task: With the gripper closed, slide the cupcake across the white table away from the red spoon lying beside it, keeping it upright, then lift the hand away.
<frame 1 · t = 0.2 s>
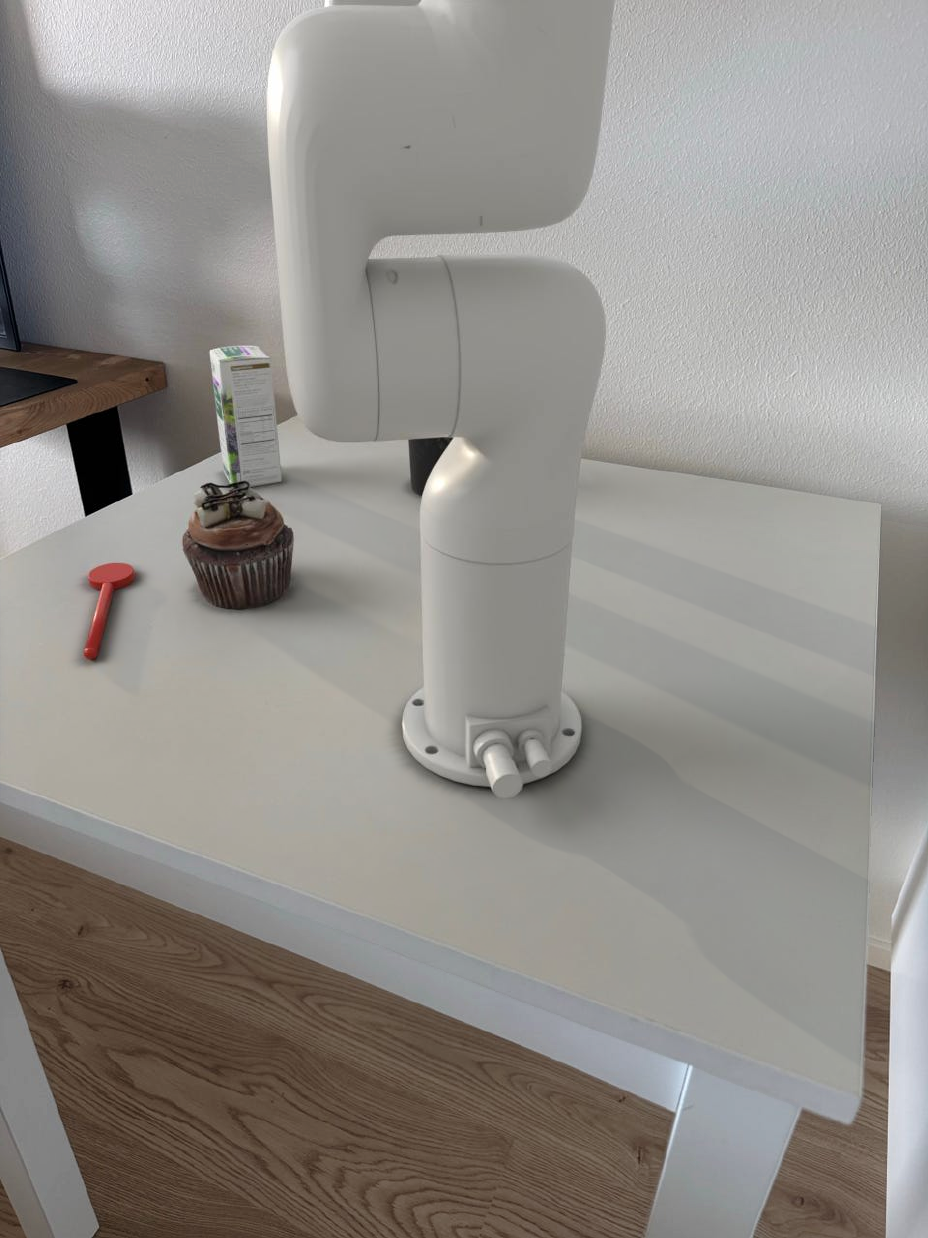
hand: (385, 186, 86), 31 cm above the table, tool pointing down, fingers open, 9 cm apart
spoon: (105, 606, 79), on the table
travel mug: (442, 488, 103), on the table
cupcake: (245, 589, 82), on the table
syrup box: (253, 479, 105), on the table
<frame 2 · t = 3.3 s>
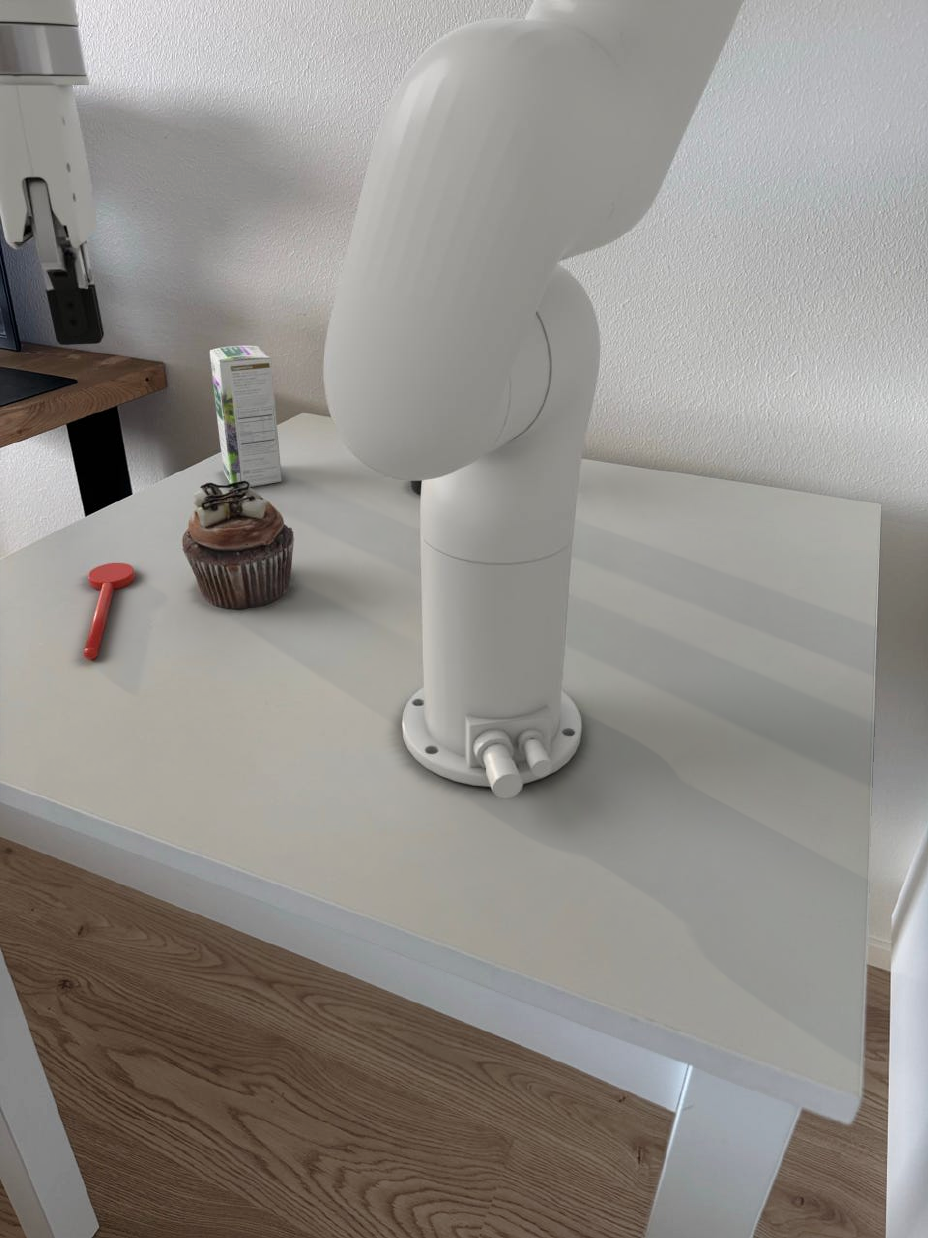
hand: (81, 340, 69), 22 cm above the table, tool pointing down, fingers closed
nothing on the table moved.
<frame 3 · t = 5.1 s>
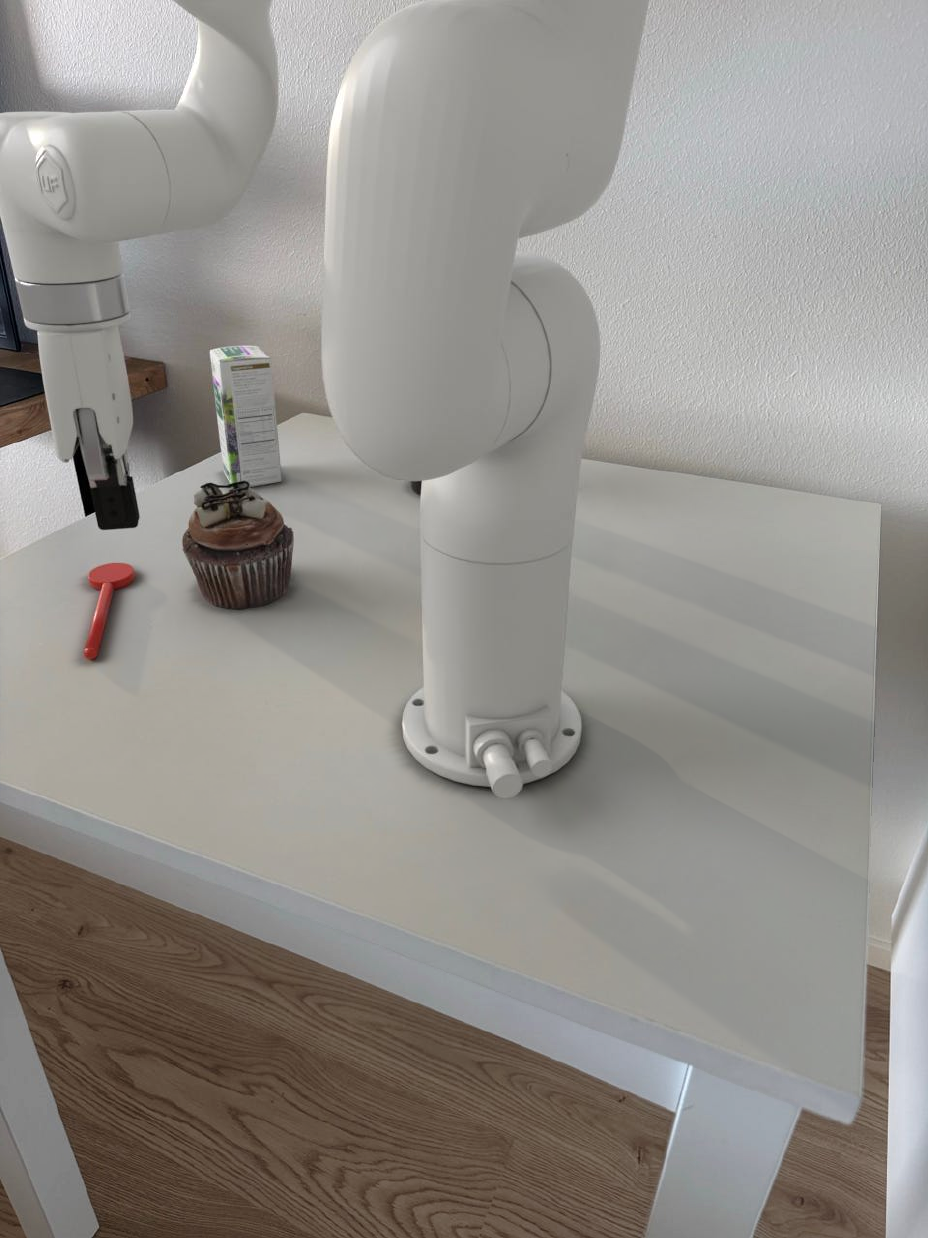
hand: (119, 524, 77), 7 cm above the table, tool pointing down, fingers closed
nothing on the table moved.
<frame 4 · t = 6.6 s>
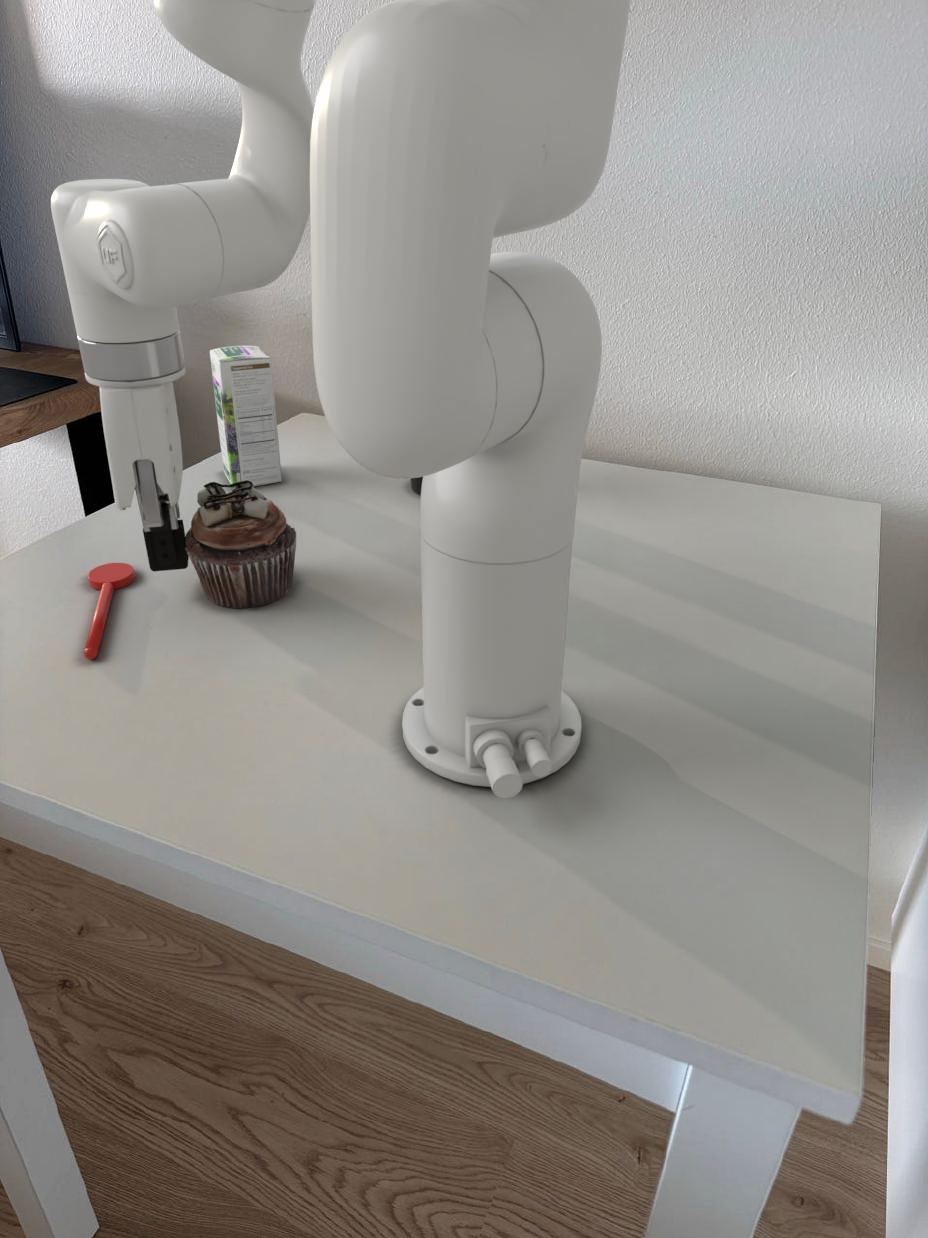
hand: (170, 565, 80), 3 cm above the table, tool pointing down, fingers closed
cupcake: (248, 589, 82), on the table, touching gripper
everything else where it was.
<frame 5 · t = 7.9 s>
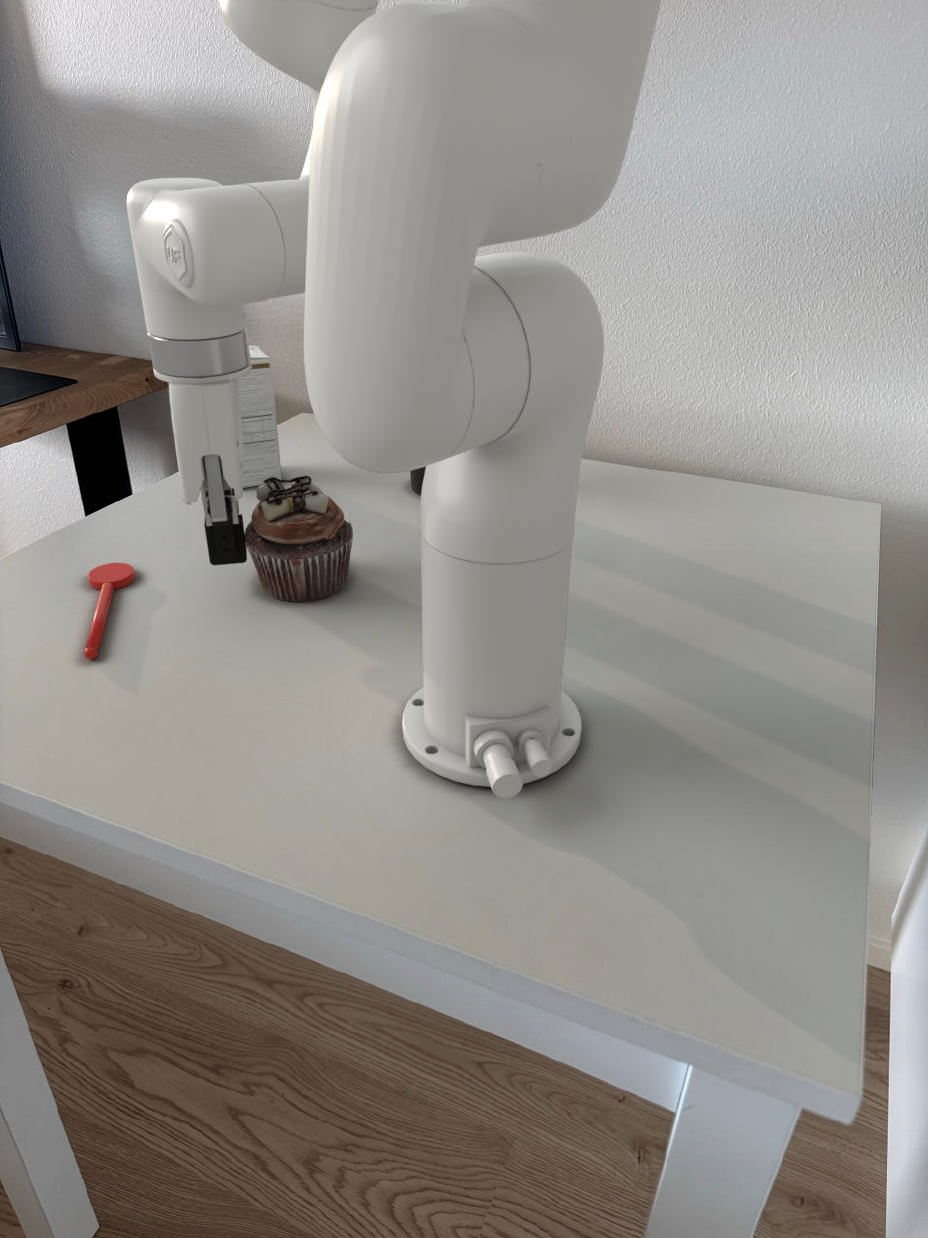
hand: (228, 559, 81), 3 cm above the table, tool pointing down, fingers closed
cupcake: (304, 583, 83), on the table, touching gripper
everything else where it was.
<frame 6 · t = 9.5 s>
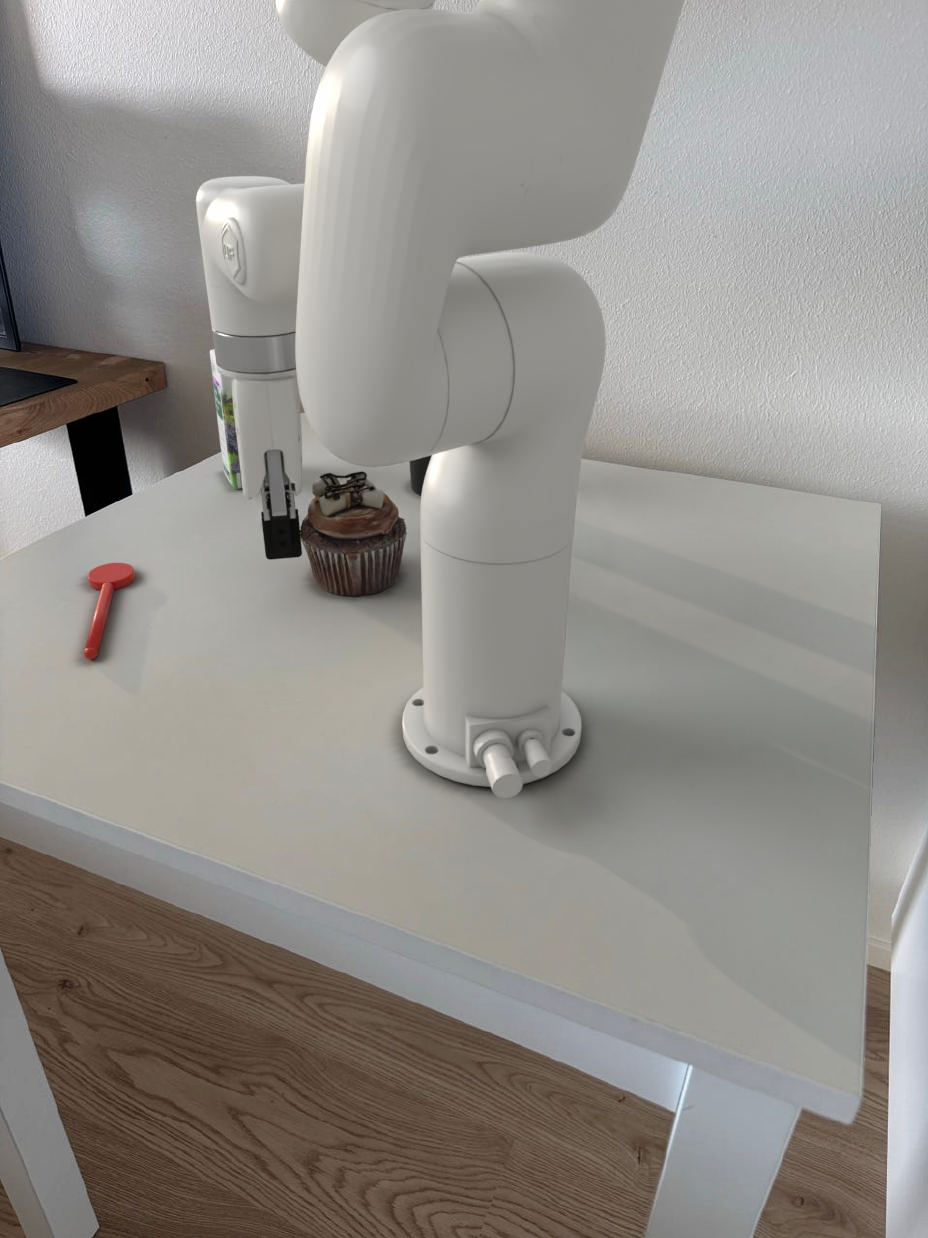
hand: (283, 553, 82), 3 cm above the table, tool pointing down, fingers closed
cupcake: (356, 578, 84), on the table, touching gripper
everything else where it was.
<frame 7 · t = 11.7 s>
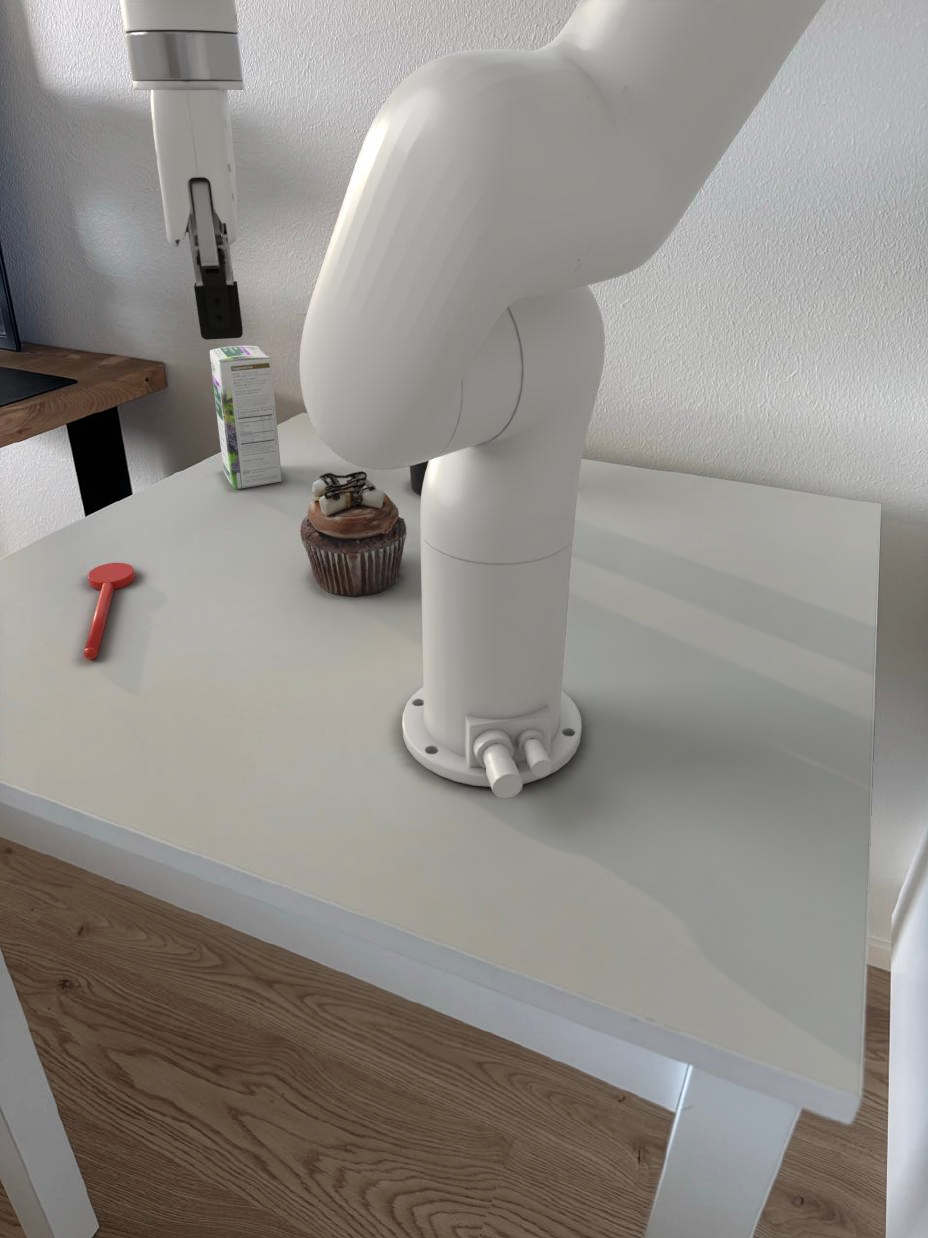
hand: (222, 335, 72), 22 cm above the table, tool pointing down, fingers closed
cupcake: (357, 578, 84), on the table
everything else where it was.
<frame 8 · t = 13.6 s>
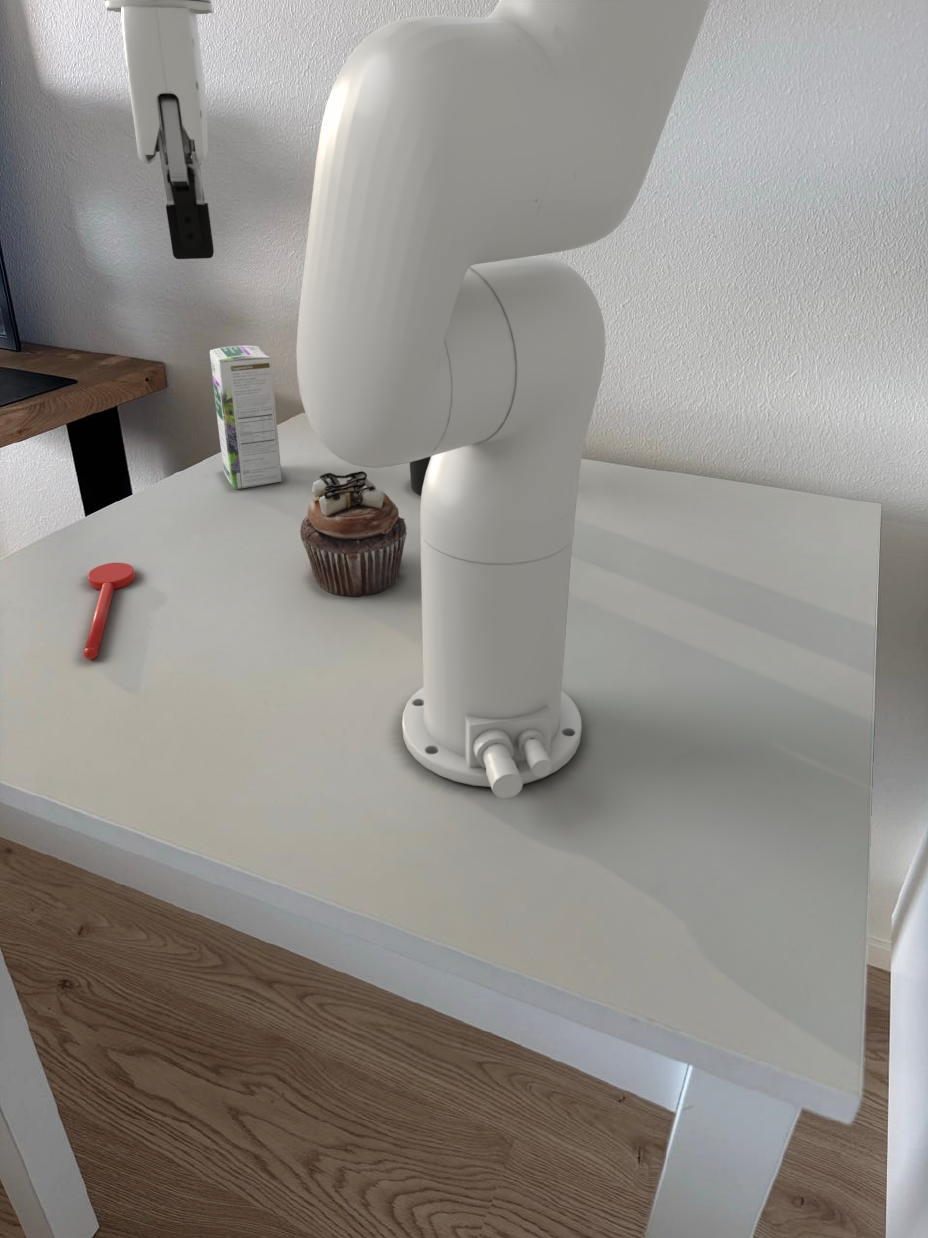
hand: (194, 256, 75), 27 cm above the table, tool pointing down, fingers closed
nothing on the table moved.
at the end: cupcake inside the target area (0.4 cm from its centre), on the table; cupcake tilted 0°; spoon moved 0.0 cm from its start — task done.
